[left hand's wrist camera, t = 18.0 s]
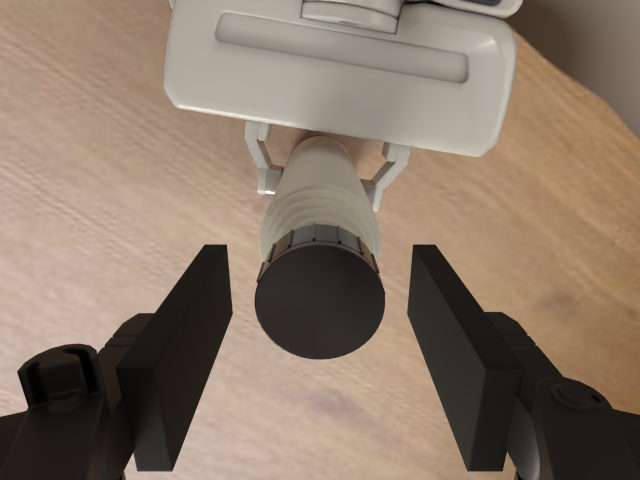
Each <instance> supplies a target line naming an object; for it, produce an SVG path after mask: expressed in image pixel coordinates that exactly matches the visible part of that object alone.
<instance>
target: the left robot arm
mask: <svg viewBox="0 0 640 480" xmlns="http://www.w3.org/2000/svg"><path fill="white" fill-rule="evenodd" d="M232 314H233V311H232V300H231V288H230V276H229V265H228V253H227V245H204V246H203V248H202V249H201V250H200V252H199V253H198V255H197V256H196V257H195V259H194V260H193V261H192V263H191V264H190V266H189V267H188V268H187V270H186V271H185V272H184V274H183V275H182V277H181V278H180V279H179V281H178V282H177V283H176V285H175V286H174V288H173V289H172V290H171V292H170V293H169V294H168V296H167V297H166V299H165V300H164V301H163V303H162V304H161V305H160V307H159V308H158V310H157V311H156V312H155V313H138V314H137V315H135V316H134V317H132V318H130V319H129V320H127V321H126V322H124V323H123V324H122V325H121V326H120V327H119V328H118V330H117V331H116V332H115V333H114V335H113V338H110V339H109V341H108V342H107V343H106V344H105V347H104V348H102V349H101V350H100V351H99V353H98V354H97V351H96V350H95V349H94V348H93V347H91V346H90V345H84V344H68V345H63V346H59V347H55V348H51V349H49V350H47V351H44V352H42V353H40V354H37V355H36V356H34V357H33V358H31V359H30V360H28V361H27V362H25V363H24V364H23V365H22V367H21V368H20V369H19V370H18V371H17V373H18V376H19V379H20V382H21V385H22V388H23V392H24V395H25V398H26V401H27V404H28V409H27V411H24V412H21V413H16V414H11V415H7V416H2V417H0V480H126V478H125V473H124V469H125V467H126V465H127V463H128V462H129V460H130V458H131V456H132V454H133V453H134V458H135V462H136V467H137V471H173V468H174V466H175V463H176V461H177V458H178V455H179V453H180V450H181V447H182V445H183V442H184V440H185V437H186V434H187V432H188V429H189V427H190V424H191V421H192V419H193V416H194V414H195V411H196V408H197V406H198V403H199V401H200V398H201V395H202V393H203V390H204V387H205V385H206V382H207V380H208V377H209V374H210V372H211V369H212V367H213V364H214V361H215V359H216V356H217V354H218V351H219V348H220V346H221V343H222V341H223V338H224V335H225V333H226V330H227V327H228V325H229V322H230V320H231V317H232ZM407 314H408V317H409V320H410V322H411V325H412V327H413V330H414V333H415V335H416V338H417V341H418V343H419V346H420V348H421V351H422V354H423V356H424V359H425V361H426V364H427V367H428V369H429V372H430V374H431V377H432V380H433V382H434V385H435V387H436V390H437V393H438V395H439V398H440V401H441V403H442V406H443V408H444V411H445V414H446V416H447V419H448V421H449V424H450V427H451V429H452V432H453V434H454V437H455V440H456V442H457V445H458V447H459V450H460V453H461V455H462V458H463V461H464V463H465V466H466V468H467V471H503V467H504V462H505V458H506V453H507V452H508V454H509V456H510V457H511V459H512V461H513V463H514V465H515V467H516V473H515V478H514V480H640V415H637V414H632V413H628V412H623V411H619V410H615V409H612V407H611V405H610V404H609V402H608V401H607V400H606V398H605V397H604V396H602V395H601V394H600V393H599V392H597V391H596V390H595V389H593V388H591V387H589V386H587V385H585V384H583V383H581V382H579V381H576V380H572V379H569V378H565V377H563V376H562V375H561V373H560V372H559V371H558V370H557V369H556V367H555V366H554V365H553V364H552V363H551V361H550V360H549V359H548V358H547V357H546V355H545V354H544V353H543V352H542V351H541V349H540V348H539V347H538V346H536V345H535V342H534V341H533V340H532V339H531V338H530V336H527V333H526V332H525V330H524V329H523V328H522V327H521V326H520V324H519V323H518V322H517V321H515V320H513V319H512V318H510V317H509V316H507V315H506V314H504V313H502V312H484V311H483V310H482V308H481V307H480V305H479V304H478V303H477V301H476V300H475V299H474V297H473V296H472V294H471V293H470V292H469V290H468V289H467V288H466V286H465V285H464V283H463V282H462V281H461V279H460V278H459V277H458V275H457V274H456V272H455V271H454V270H453V268H452V267H451V266H450V264H449V263H448V261H447V260H446V259H445V257H444V256H443V255H442V253H441V252H440V250H439V249H438V248H437V246H436V245H413V253H412V265H411V276H410V288H409V300H408V311H407Z"/></svg>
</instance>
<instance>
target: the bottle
mask: <svg viewBox="0 0 640 480" xmlns="http://www.w3.org/2000/svg"><path fill="white" fill-rule="evenodd" d="M313 223H316V224H326V225H333V226H337V225H338V226H340V228H343V229H345V230H347V231H349V232H351V233H352V234H354V235H356V236H357V237H358V236H359V237H360V238H361V240H362V241H363V243H364V244H365V245H366V246H367V247H368V249H369V250H370V252H371V254H372V253H373V254H374V256H375V259H376V263H377V262H378V259H379V256H380V252H381V231H380V227H379V224H378V221H377V219H376V216H375V214H374V212H373V209H372V207H371V204H370V202H369V200H368V197H367V195H366V193H365V190H364V188H363V186H362V183H361V181H360V178H359V176H358V174H357V171H356V169H355V167H354V164H353V162H352V159H351V157H350V155H349V153H348V151H347V150H346V148H345V147H344V146H343V145H342V144H341V143H340V142H338V141H337V140H335V139H333V138H330V137H326V136H314V137H310V138H308V139H305V140H304V141H302V142H301V143H299V144H298V145H297V146H296V147H295V149H294V150H293V152H292V153H291V155H290V158H289V160H288V162H287V165H286V167H285V169H284V172H283V174H282V176H281V179H280V181H279V183H278V186H277V188H276V190H275V193H274V195H273V197H272V200H271V202H270V204H269V207H268V209H267V211H266V214H265V216H264V218H263V221H262V224H261V227H260V231H259V242H258V244H259V252H260V256H261V259H262V262H265V260H266V257H267V255H268V253H269V251H270V250H271V248H272V244H273V243H276V242H277V241H278V240H279V239H280V238H282V237H283V236H284V235H286V234H287V233H289V232H290V230H291V229H293V230H295V229H297V228H300V227H303V226H308V225H313Z"/></svg>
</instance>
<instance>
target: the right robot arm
mask: <svg viewBox="0 0 640 480" xmlns="http://www.w3.org/2000/svg"><path fill="white" fill-rule="evenodd" d="M522 1H523V0H168V2H169V6H170V9H171V11H172V16H171V21H170V27H169V33H168V39H167V46H166V54H165V63H164V76H163V87H164V90H165V92H166V94H167V95H168V97H169V98H170V100H171V101H172V103H173V104H174V106H175V107H177V108H179V109H185V110H191V111H197V112H203V113H210V114H216V115H222V116H228V117H234V118H240V119H246V124H245V135H244V139H245V141H246V144H247V146H248V148H249V150H250V152H251V155H252V157H253V159H254V161H255V163H256V166H257V167H258V168H259V175H258V184H257V193H258V194H262V195H271V196H273V195H274V193H275V190H276V188H277V186H278V183H279V181H280V179H281V176H282V174H283V171H284V167H283V166H277V165H272V162H271V159H270V157H269V154H268V152H267V150H266V147H265V145H264V142H263V141H266V140H267V139H268V138H269V137H270V135H271V127H272V124H277V125H283V126H289V127H295V128H302V129H308V130H314V131H320V132H326V133H332V134H338V135H344V136H351V137H357V138H363V139H369V140H375V141H381V142H384V146H383V151H382V155H383V156H384V157H385V158H386V160H387V162H386V163H385V164H384V165H383V166H382V168H381V169H380V170H379V171H378V172H377V174H376V175H375V176H374V177H373V178H372V180H366V179H360V181H361V183H362V186H363V188H364V190H365V193H366V195H367V197H368V200H369V202H370V204H371V207H372V209H373V211H374V212H378V211H379V209H380V205H381V201H382V196H383V192H384V188H387V186H388V185H389V184H390V183H391V182H392V181H393V180H394V179H395V178H396V177H397V176H398V174H399V173H400V172H401V171H402V170H403V169H404V168H405V167H406V166H407V164H408V160H409V156H410V151H411V147H418V148H424V149H430V150H436V151H442V152H449V153H455V154H461V155H467V156H473V157H480V156H482V155H483V154H484V153H486V152H487V151H488V150H489V149H490V148H491V147H493V146H494V145H495V144H496V142H497V141H498V139H499V136H500V133H501V130H502V127H503V124H504V120H505V116H506V112H507V109H508V104H509V100H510V95H511V91H512V86H513V80H514V74H515V68H516V60H517V46H516V41H515V37H514V35H513V33H512V31H511V29H510V28H509V27H508V25H507V24H505V23H504V22H503V21H501V20H503V19H505V18H506V17H508V16H510V15H512V14H513V13H515V12H516V11H517V10H518V9H519V7H520V6H521V4H522Z"/></svg>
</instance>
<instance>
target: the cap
mask: <svg viewBox="0 0 640 480" xmlns="http://www.w3.org/2000/svg"><path fill="white" fill-rule="evenodd" d="M379 273H380V272H379V269H378V266H377V263H376V259H375V256H374V254H373V253H372V254H371V252H370V250H369V249H368V247H367V246H366V245H365V244H364V243H363V241H362V240H361V238H360V237H359V236H358V237H357V236H356V235H354V234H352V233H351V232H349V231H347V230H345V229H343V228H340V226H338V225H337V226H333V225H326V224H316V223H313V225H308V226H303V227H300V228H297V229H295V230H293V229H291V230H290V232H289V233H287V234H286V235H284V236H283V237H282V238H280V239H279V240H278V241H277V242H276V243H273V244H272V248H271V250H270V251H269V253H268V255H267V257H266V260H265V262H263V263H262V266H261V269H260V272H259V276H258V279H257V283H258V285H257V289H256V293H255V310H256V315H257V318H258V321H259V323H260V325H261V327H262V329H263V331H264V332H265V334H266V335H267V336H268V337H269V338H270V339H271V340H272V341H273V342H274V343H275V344H276V345H277V346H279V347H280V348H282V349H283V350H285V351H287V352H289V353H291V354H294V355H296V356H299V357H303V358H308V359H332V358H337V357H340V356H344V355H346V354H349V353H351V352H353V351H355V350H356V349H358V348H360V347H361V346H362V345H364V344H365V343H366V342H367V341H368V340H369V339H370V338H371V337H372V336H373V334H374V333H375V332H376V330H377V329H378V327H379V325H380V323H381V320H382V318H383V314H384V309H385V291H384V288H383V285H382V282H381V278H380V275H379Z"/></svg>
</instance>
